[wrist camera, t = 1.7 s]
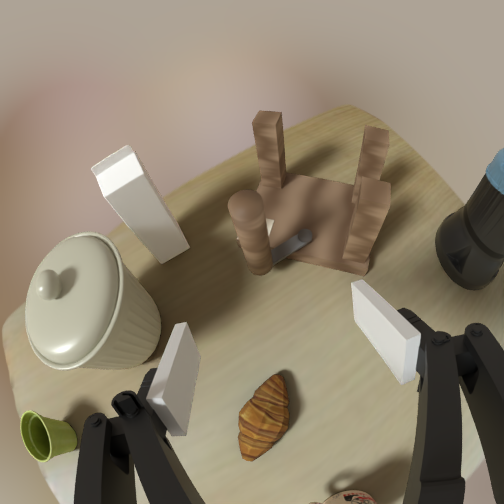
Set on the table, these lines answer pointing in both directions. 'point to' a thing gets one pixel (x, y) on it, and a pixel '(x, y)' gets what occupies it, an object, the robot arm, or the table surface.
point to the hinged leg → (260, 233)
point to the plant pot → (46, 436)
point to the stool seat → (323, 200)
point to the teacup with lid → (349, 498)
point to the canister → (89, 308)
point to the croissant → (263, 418)
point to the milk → (140, 203)
